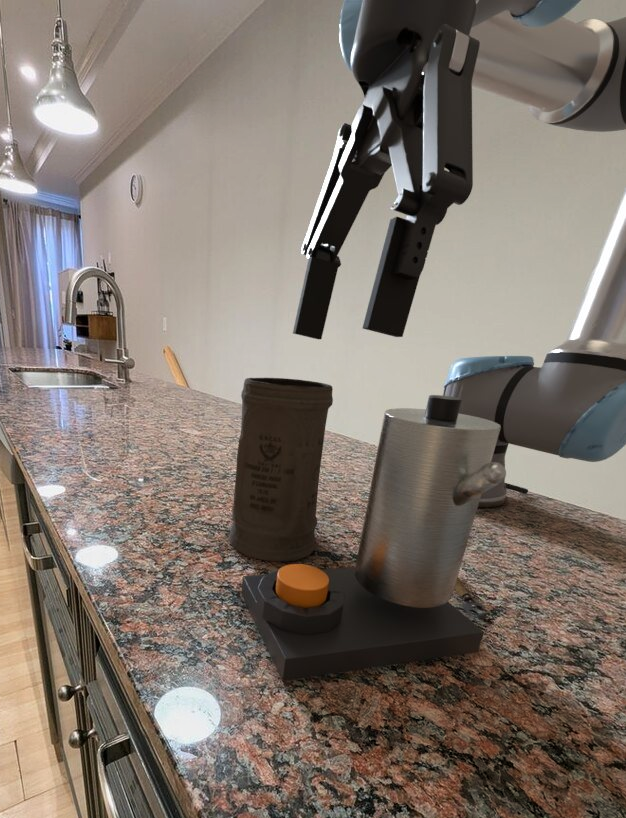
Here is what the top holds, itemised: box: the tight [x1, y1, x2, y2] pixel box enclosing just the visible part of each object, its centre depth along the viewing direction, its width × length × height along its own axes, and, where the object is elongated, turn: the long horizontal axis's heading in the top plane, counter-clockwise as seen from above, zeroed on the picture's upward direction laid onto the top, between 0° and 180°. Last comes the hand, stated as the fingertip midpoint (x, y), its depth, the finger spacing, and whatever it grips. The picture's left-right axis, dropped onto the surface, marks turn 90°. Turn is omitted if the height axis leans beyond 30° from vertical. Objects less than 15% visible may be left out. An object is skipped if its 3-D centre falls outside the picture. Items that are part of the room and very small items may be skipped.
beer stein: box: [228, 377, 334, 563], centre depth 54 cm, size 15×11×20 cm
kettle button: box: [276, 563, 329, 608], centre depth 38 cm, size 4×4×2 cm
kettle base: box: [240, 566, 485, 682], centre depth 41 cm, size 18×12×4 cm, turn 105°
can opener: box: [454, 576, 486, 623], centre depth 47 cm, size 9×2×1 cm, turn 171°
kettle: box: [354, 394, 507, 608], centre depth 38 cm, size 9×14×17 cm, turn 15°
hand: (338, 335), depth 36 cm, fingers open, 13 cm apart
